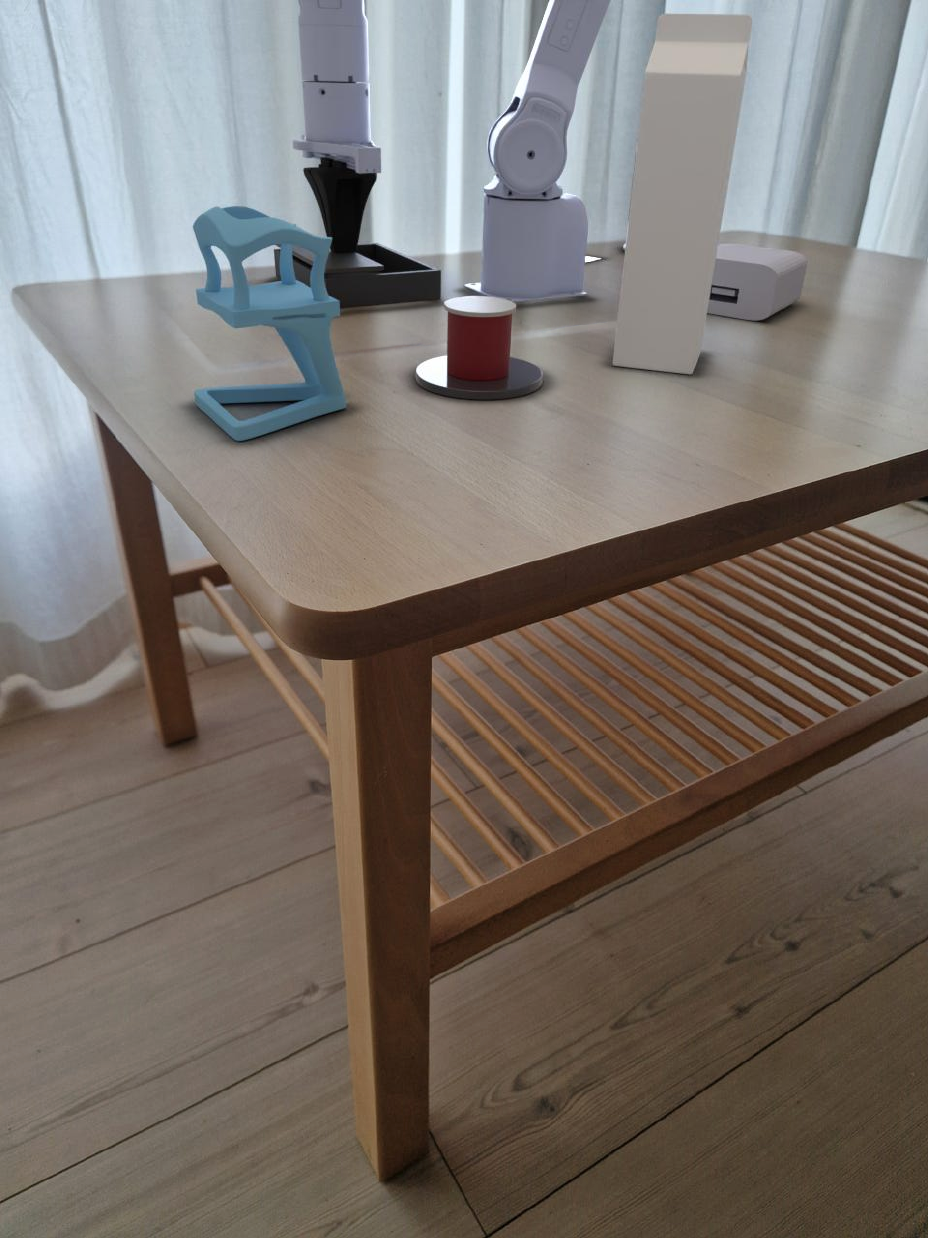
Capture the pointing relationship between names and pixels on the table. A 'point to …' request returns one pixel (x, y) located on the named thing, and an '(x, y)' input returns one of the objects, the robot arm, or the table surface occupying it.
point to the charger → (755, 281)
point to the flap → (338, 261)
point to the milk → (680, 188)
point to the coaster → (515, 384)
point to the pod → (479, 337)
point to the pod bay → (375, 279)
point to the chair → (270, 317)
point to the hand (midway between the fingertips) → (343, 251)
